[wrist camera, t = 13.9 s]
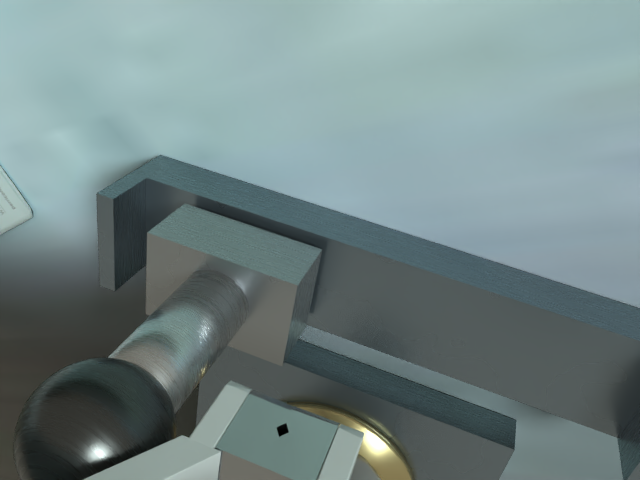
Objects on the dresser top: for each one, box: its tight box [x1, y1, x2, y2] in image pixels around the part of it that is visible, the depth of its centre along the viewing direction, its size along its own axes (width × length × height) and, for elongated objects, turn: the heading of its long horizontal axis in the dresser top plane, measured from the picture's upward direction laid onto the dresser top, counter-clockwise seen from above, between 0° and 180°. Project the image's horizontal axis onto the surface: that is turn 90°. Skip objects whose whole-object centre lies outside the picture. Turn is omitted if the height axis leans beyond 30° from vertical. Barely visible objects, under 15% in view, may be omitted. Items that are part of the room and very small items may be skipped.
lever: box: [13, 204, 322, 480], centre depth 13 cm, size 4×3×8 cm
